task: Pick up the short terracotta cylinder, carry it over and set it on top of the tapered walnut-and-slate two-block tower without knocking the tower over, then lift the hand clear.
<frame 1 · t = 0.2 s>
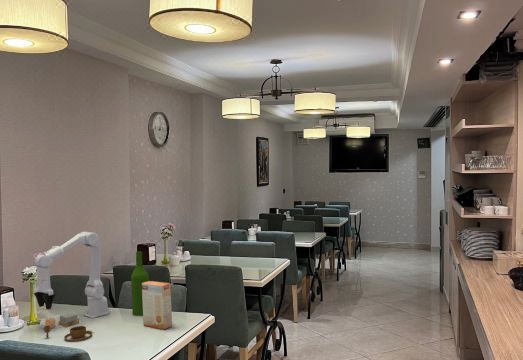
hand: (45, 307, 239), 10 cm above the table, fingers open, 7 cm apart
wine bottle: (141, 313, 259), on the table
cracker box: (157, 326, 236), on the table
slate block: (68, 320, 245), point 2 cm above the table, touching walnut block
walnut block: (69, 325, 245), on the table, touching slate block
terracotta cylinder: (50, 327, 241), on the table
place setting: (72, 338, 226), on the table
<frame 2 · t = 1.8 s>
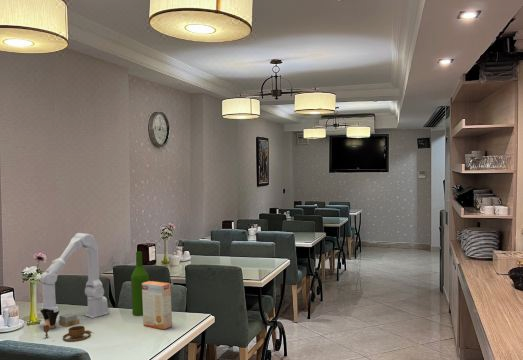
hand: (50, 324, 241), 1 cm above the table, fingers closed on terracotta cylinder, 4 cm apart
terracotta cylinder: (50, 327, 241), on the table, touching gripper
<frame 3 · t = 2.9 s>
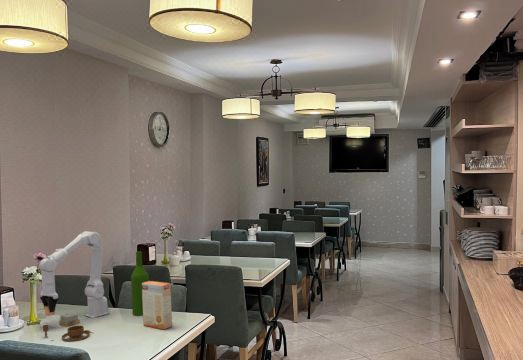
hand: (49, 311, 241), 8 cm above the table, fingers closed on terracotta cylinder, 4 cm apart
slate block: (69, 319, 245), point 2 cm above the table
walnut block: (69, 325, 245), on the table
terracotta cylinder: (50, 314, 241), point 6 cm above the table, touching gripper
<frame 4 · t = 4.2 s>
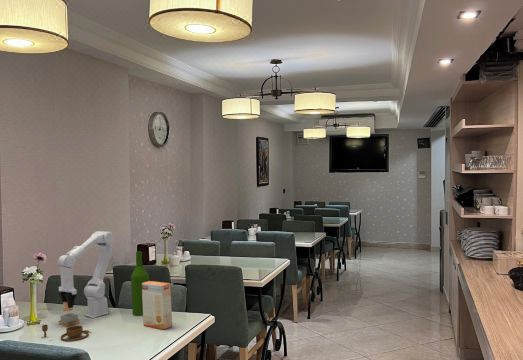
hand: (68, 306, 245), 9 cm above the table, fingers closed on terracotta cylinder, 4 cm apart
slate block: (69, 320, 245), point 2 cm above the table, touching walnut block
walnut block: (69, 325, 245), on the table, touching slate block
terracotta cylinder: (68, 309, 245), point 7 cm above the table, touching gripper
when the fingers open (7 cm above the table, at t = 4.9 s): terracotta cylinder drops 1 cm, resting on slate block.
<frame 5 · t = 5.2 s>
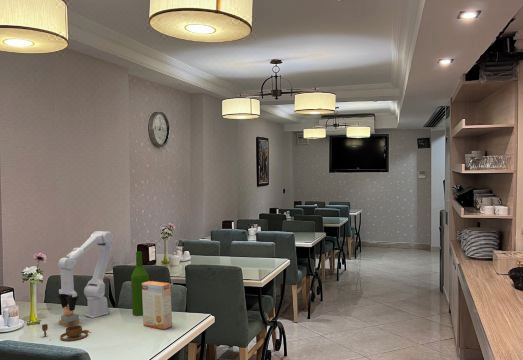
hand: (68, 309, 245), 7 cm above the table, fingers open, 7 cm apart
slate block: (69, 320, 245), point 2 cm above the table, touching terracotta cylinder, walnut block
terracotta cylinder: (68, 314, 245), point 5 cm above the table, touching slate block
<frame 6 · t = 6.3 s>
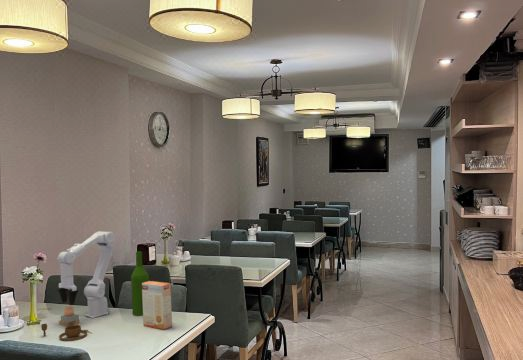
hand: (68, 303, 245), 10 cm above the table, fingers open, 7 cm apart
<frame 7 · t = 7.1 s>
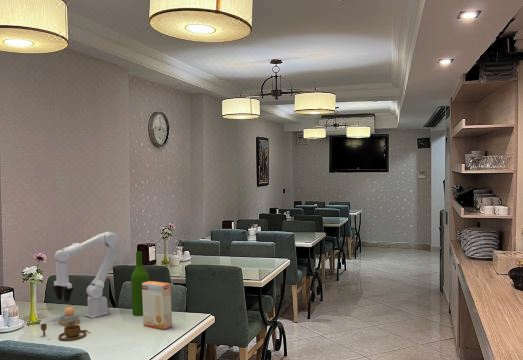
hand: (63, 300, 250), 10 cm above the table, fingers open, 7 cm apart
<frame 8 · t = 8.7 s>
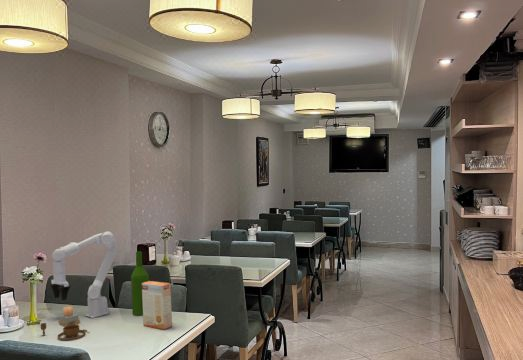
hand: (60, 298, 254), 10 cm above the table, fingers open, 7 cm apart
slate block: (69, 320, 245), point 2 cm above the table, touching walnut block
terracotta cylinder: (68, 315, 245), point 4 cm above the table
at the end: terracotta cylinder 0.4 cm off-centre on the slate block, point 2.5 cm above the slate block's base; slate block 0.2 cm off-centre on the walnut block, point 2.5 cm above the walnut block's base; terracotta cylinder tilted 0° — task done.
